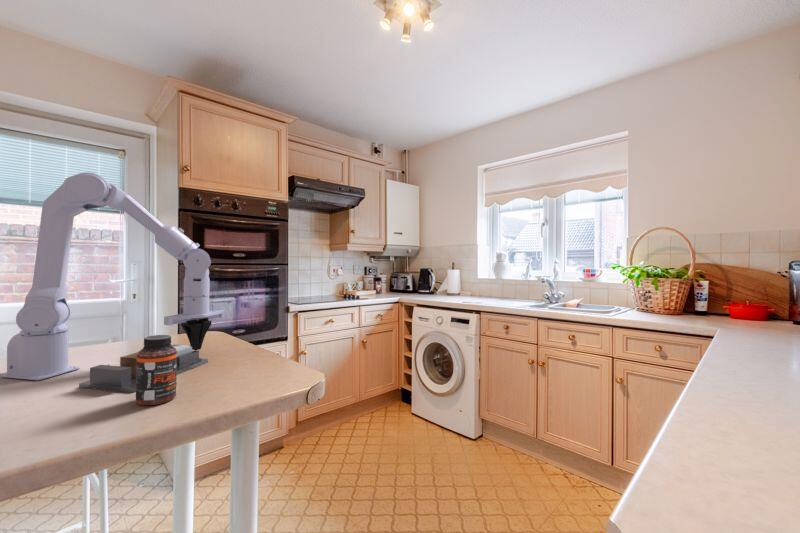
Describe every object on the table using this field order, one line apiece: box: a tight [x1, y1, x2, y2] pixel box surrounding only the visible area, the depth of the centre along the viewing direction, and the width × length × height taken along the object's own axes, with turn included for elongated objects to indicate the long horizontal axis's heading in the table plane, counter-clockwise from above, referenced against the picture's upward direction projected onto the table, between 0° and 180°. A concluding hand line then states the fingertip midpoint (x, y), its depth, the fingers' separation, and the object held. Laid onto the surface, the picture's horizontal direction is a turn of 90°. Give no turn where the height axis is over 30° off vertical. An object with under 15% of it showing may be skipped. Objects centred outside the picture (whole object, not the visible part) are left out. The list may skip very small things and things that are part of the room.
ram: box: [171, 344, 193, 357], centre depth 82 cm, size 5×5×3 cm
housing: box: [119, 351, 139, 378], centre depth 74 cm, size 4×6×4 cm
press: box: [78, 350, 209, 393], centre depth 76 cm, size 12×20×4 cm, turn 171°
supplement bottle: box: [135, 334, 178, 406], centre depth 62 cm, size 6×6×11 cm
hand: (196, 349), depth 89 cm, fingers closed
